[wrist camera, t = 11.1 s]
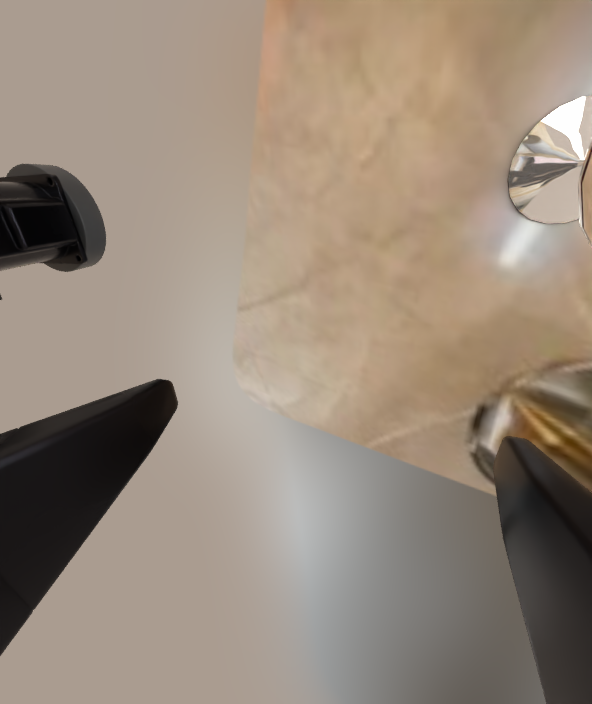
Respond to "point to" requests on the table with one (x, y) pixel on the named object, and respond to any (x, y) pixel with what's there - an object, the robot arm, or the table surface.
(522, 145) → the wineglass
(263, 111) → the table surface
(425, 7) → the table surface
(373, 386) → the table surface
